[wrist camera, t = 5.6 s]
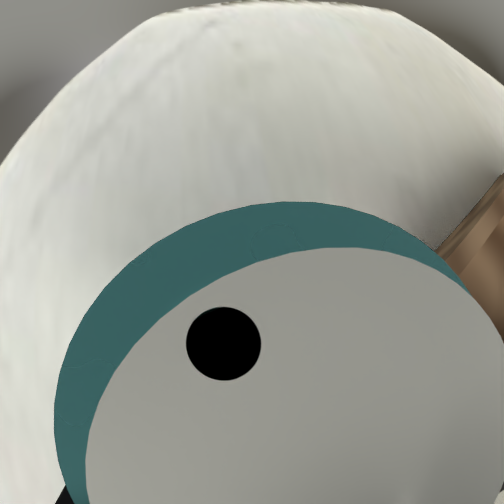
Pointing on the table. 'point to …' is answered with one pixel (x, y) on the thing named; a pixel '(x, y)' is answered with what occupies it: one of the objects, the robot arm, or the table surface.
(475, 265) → the rack
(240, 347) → the spray can
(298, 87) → the table surface
